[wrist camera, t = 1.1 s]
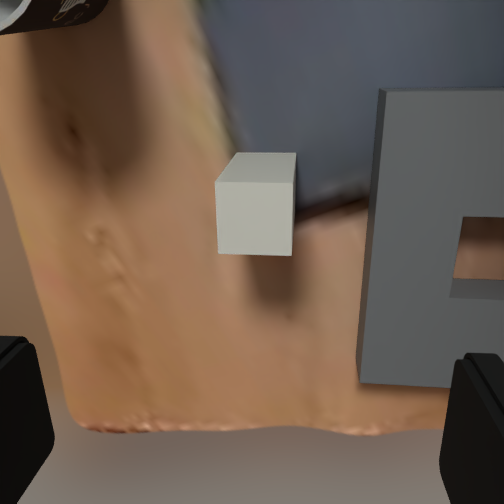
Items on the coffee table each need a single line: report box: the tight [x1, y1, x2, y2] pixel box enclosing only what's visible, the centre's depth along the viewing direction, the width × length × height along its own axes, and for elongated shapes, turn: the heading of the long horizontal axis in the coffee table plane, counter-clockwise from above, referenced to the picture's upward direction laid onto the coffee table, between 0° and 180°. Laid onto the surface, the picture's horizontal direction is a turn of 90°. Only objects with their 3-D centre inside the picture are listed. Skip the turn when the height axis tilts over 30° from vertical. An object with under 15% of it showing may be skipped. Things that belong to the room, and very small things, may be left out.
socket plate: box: [356, 87, 504, 388], centre depth 30 cm, size 20×16×3 cm
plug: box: [215, 153, 296, 256], centre depth 28 cm, size 4×4×8 cm
